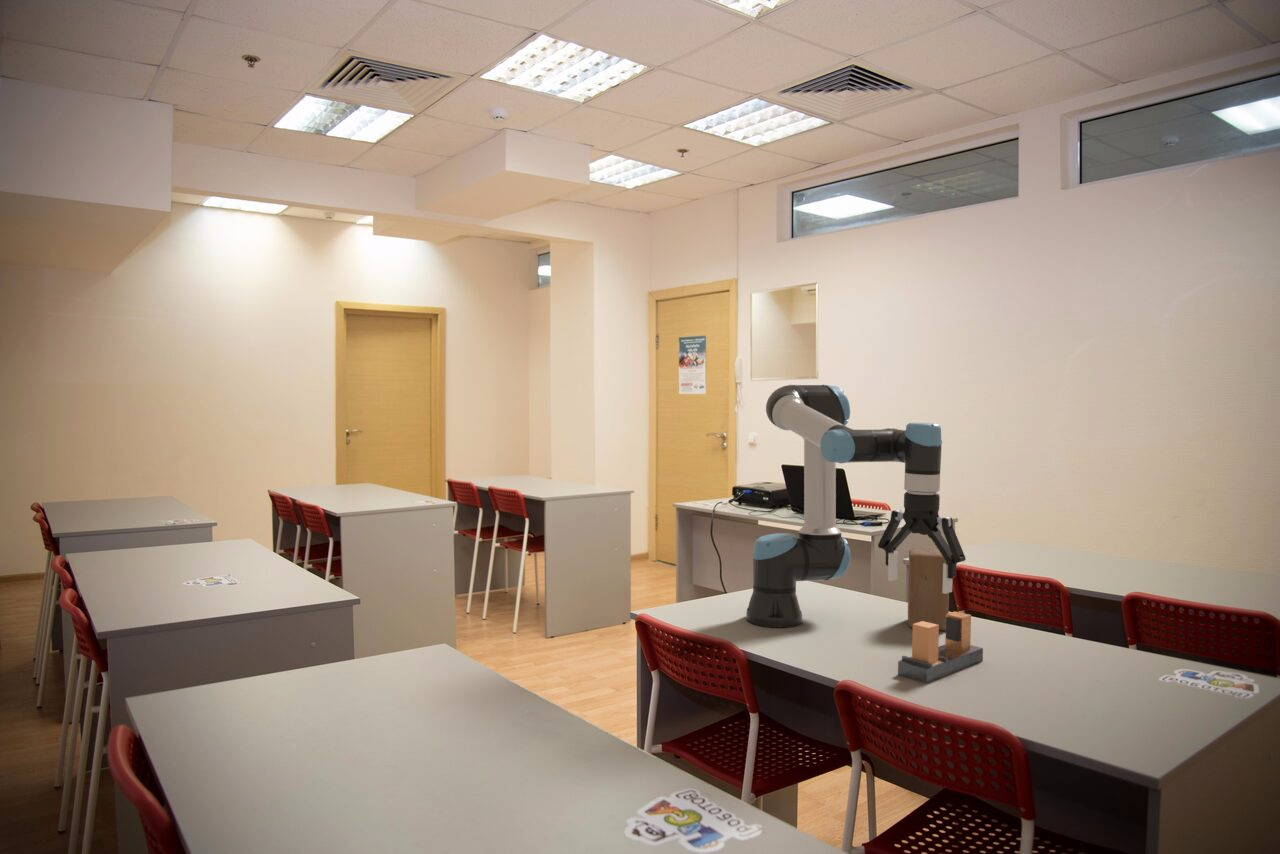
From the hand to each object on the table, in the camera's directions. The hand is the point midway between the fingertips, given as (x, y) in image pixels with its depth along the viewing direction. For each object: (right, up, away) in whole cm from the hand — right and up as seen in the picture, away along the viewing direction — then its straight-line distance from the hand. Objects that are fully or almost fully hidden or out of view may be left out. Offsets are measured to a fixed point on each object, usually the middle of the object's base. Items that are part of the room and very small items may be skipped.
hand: (919, 586), depth 184 cm
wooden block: (+15, -18, +38) cm, 44 cm away
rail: (+6, -19, +3) cm, 20 cm away
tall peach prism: (+1, -16, -2) cm, 16 cm away
